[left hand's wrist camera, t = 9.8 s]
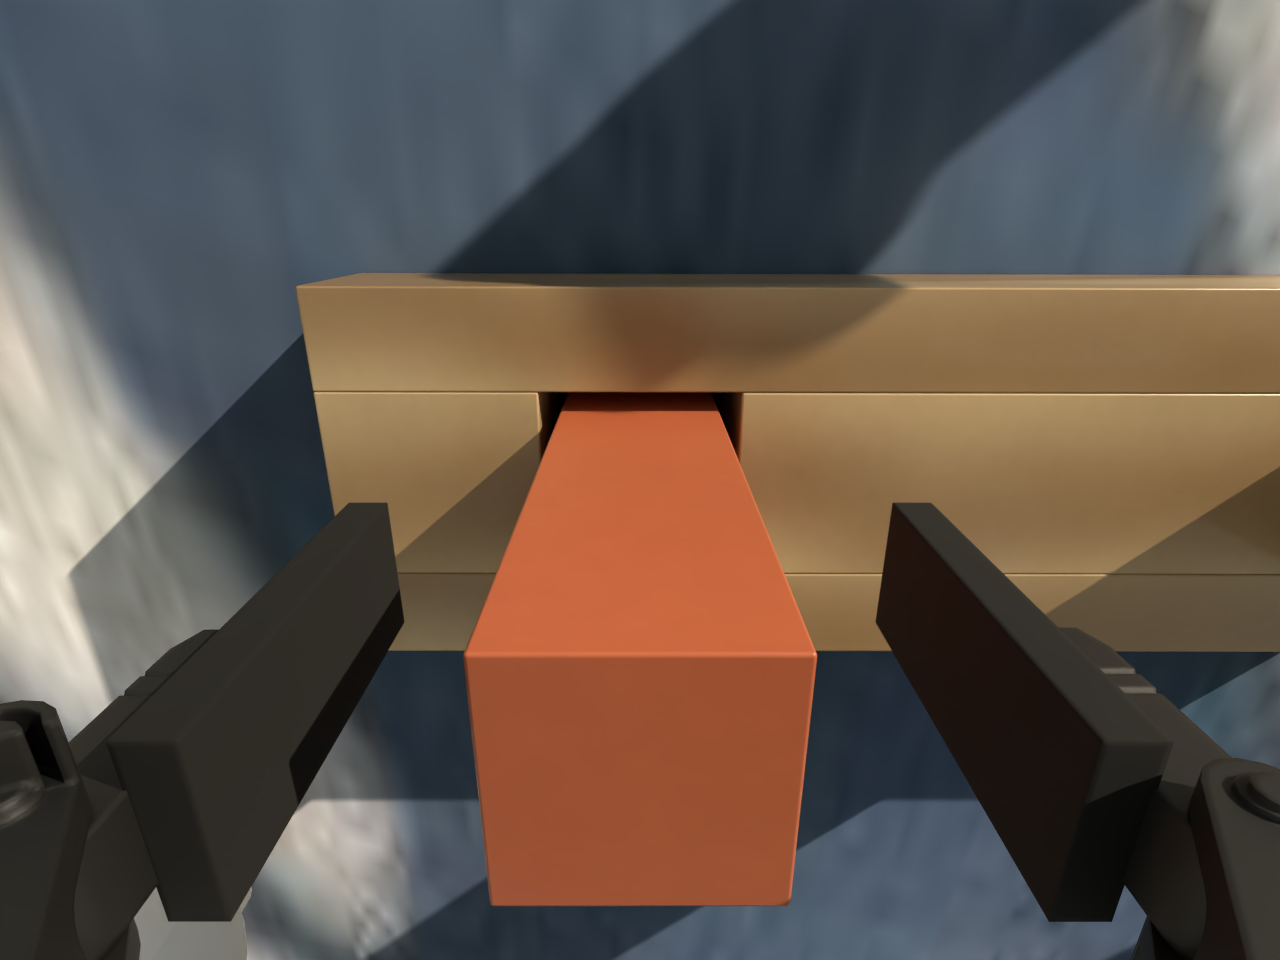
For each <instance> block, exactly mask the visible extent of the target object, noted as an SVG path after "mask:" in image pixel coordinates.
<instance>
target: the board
mask: <svg viewBox="0 0 1280 960" xmlns="http://www.w3.org/2000/svg"><path fill="white" fill-rule="evenodd" d="M296 293H297V299H298V305H299V311H300V317H301V323H302V328H303V334H304V340H305V346H306V352H307V358H308V364H309V369H310V375H311V381H312V387H313V391H315V392H314V398H315V404H316V410H317V416H318V422H319V428H320V433H321V439H322V445H323V451H324V457H325V463H326V469H327V474H328V480H329V486H330V492H331V498H332V504H333V510H334V515H335V516H336V515H337V514H338V513H339V512H340V511H341V510H342V509H343V508H344V507H345V506H346V505H347V504H348V503H388V510H389V517H390V524H391V531H392V538H393V545H394V552H395V559H396V566H397V573H398V580H399V587H400V594H401V601H402V608H403V615H404V624H403V626H402V628H401V629H400V631H399V633H398V634H397V636H396V638H395V640H394V641H393V643H392V645H391V647H390V648H389V650H388V651H465V649H466V646H467V644H468V642H469V639H470V637H471V634H472V632H473V629H474V627H475V624H476V622H477V619H478V617H479V614H480V612H481V609H482V607H483V604H484V602H485V599H486V597H487V594H488V592H489V589H490V587H491V584H492V582H493V579H494V577H495V574H496V572H497V569H498V567H499V564H500V562H501V559H502V557H503V554H504V552H505V549H506V547H507V544H508V542H509V539H510V537H511V534H512V532H513V529H514V527H515V524H516V522H517V519H518V517H519V515H520V512H521V510H522V507H523V505H524V502H525V500H526V497H527V495H528V492H529V490H530V487H531V485H532V482H533V480H534V477H535V475H536V472H537V470H538V467H539V465H540V462H541V460H542V457H543V455H544V452H545V450H546V447H547V445H548V442H549V440H550V437H551V435H552V432H553V430H554V427H555V425H556V422H557V420H558V397H557V392H722V413H721V418H722V421H723V423H724V426H725V428H726V431H727V433H728V436H729V438H730V441H731V443H732V446H733V448H734V450H735V453H736V455H737V458H738V460H739V463H740V465H741V468H742V470H743V473H744V475H745V478H746V480H747V483H748V485H749V488H750V490H751V492H752V495H753V497H754V500H755V502H756V505H757V507H758V510H759V512H760V515H761V517H762V520H763V522H764V525H765V527H766V530H767V532H768V534H769V537H770V539H771V542H772V544H773V547H774V549H775V552H776V554H777V557H778V559H779V562H780V564H781V567H782V569H783V572H784V574H785V576H786V579H787V581H788V584H789V586H790V589H791V591H792V594H793V596H794V599H795V601H796V604H797V606H798V609H799V611H800V614H801V616H802V618H803V621H804V623H805V626H806V628H807V631H808V633H809V636H810V638H811V641H812V643H813V646H814V648H815V651H892V650H891V648H890V647H889V645H888V643H887V641H886V640H885V638H884V636H883V634H882V633H881V631H880V629H879V628H878V626H877V624H876V615H877V608H878V601H879V594H880V587H881V580H882V573H883V566H884V559H885V552H886V545H887V538H888V531H889V524H890V517H891V510H892V503H932V504H933V505H934V506H935V507H936V508H937V509H938V510H939V511H940V512H941V513H942V514H943V515H944V516H945V517H946V518H947V519H948V520H949V521H950V522H951V523H952V524H954V525H955V526H956V527H957V528H958V529H959V530H960V531H961V532H962V533H963V534H964V535H965V536H966V537H967V538H968V539H969V540H970V541H971V542H972V543H973V544H974V545H975V546H976V547H977V548H978V549H979V550H980V551H981V552H982V553H983V554H984V555H985V556H986V557H987V558H988V559H989V560H990V561H991V562H992V563H993V564H994V565H995V566H996V567H997V568H998V569H999V570H1000V571H1001V572H1002V573H1003V574H1004V575H1005V576H1006V577H1007V578H1008V579H1009V580H1010V581H1012V582H1013V583H1014V584H1015V585H1016V586H1017V587H1018V588H1019V589H1020V590H1021V591H1022V592H1023V593H1024V594H1025V595H1026V596H1027V597H1028V598H1029V599H1030V600H1031V601H1032V602H1033V603H1034V604H1035V605H1036V606H1037V607H1038V608H1039V609H1040V610H1041V611H1042V612H1043V613H1044V614H1045V615H1046V616H1047V617H1048V618H1049V619H1050V620H1051V621H1052V622H1053V623H1054V624H1055V625H1056V626H1057V627H1058V628H1078V629H1080V630H1081V631H1083V632H1085V633H1087V634H1089V635H1090V636H1092V637H1094V638H1096V639H1097V640H1099V641H1101V642H1103V643H1105V644H1106V645H1108V646H1110V647H1111V648H1112V649H1113V650H1115V651H1116V652H1280V275H961V274H529V273H359V274H354V275H349V276H344V277H339V278H334V279H329V280H325V281H320V282H315V283H310V284H305V285H300V286H296Z"/></svg>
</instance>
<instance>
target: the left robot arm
mask: <svg viewBox="0 0 1280 960" xmlns="http://www.w3.org/2000/svg"><path fill="white" fill-rule="evenodd" d="M403 624H404V615H403V608H402V601H401V594H400V587H399V580H398V573H397V566H396V559H395V552H394V545H393V538H392V531H391V524H390V517H389V510H388V503H348V504H347V505H346V506H345V507H344V508H343V509H342V510H341V511H340V512H339V513H338V514H337V515H336V516H335V517H334V518H333V519H332V520H331V521H330V522H329V523H327V524H326V525H325V526H324V527H323V528H322V529H321V530H320V531H319V532H318V533H317V534H316V535H315V536H314V537H313V538H312V539H311V540H310V541H309V542H308V543H307V544H306V545H305V546H304V547H303V548H302V549H301V550H300V551H299V552H298V553H297V554H296V555H295V556H294V557H293V558H292V559H291V560H290V561H289V562H288V563H287V564H286V565H285V566H284V567H283V568H282V569H281V570H280V571H279V572H278V573H277V574H276V575H275V576H274V577H273V578H272V579H271V580H269V581H268V582H267V583H266V584H265V585H264V586H263V587H262V588H261V589H260V590H259V591H258V592H257V593H256V594H255V595H254V596H253V597H252V598H251V599H250V600H249V601H248V602H247V603H246V604H245V605H244V606H243V607H242V608H241V609H240V610H239V611H238V612H237V613H236V614H235V615H234V616H233V617H232V618H231V619H230V620H229V621H228V622H227V623H226V624H225V625H224V626H223V627H222V628H221V629H220V630H203V631H201V632H200V633H198V634H196V635H194V636H193V637H191V638H189V639H187V640H185V641H184V642H182V643H180V644H178V645H177V646H175V647H173V648H171V649H170V650H169V651H168V652H167V653H165V654H164V655H163V656H162V657H161V658H160V659H159V660H158V661H157V662H156V663H155V664H153V665H152V666H151V667H150V668H149V669H148V670H147V671H146V672H145V673H146V674H145V676H140V677H139V678H138V679H137V680H136V681H135V682H134V683H133V684H132V685H131V686H130V687H129V688H127V689H126V690H125V694H124V696H119V697H118V698H117V699H115V700H114V701H113V702H112V703H111V704H110V705H109V706H108V707H107V708H106V709H105V710H104V711H102V712H101V713H100V714H99V715H98V716H97V717H96V718H95V719H94V720H93V721H92V722H91V723H89V724H88V725H87V726H86V727H85V728H84V729H83V730H82V731H81V732H80V733H79V734H77V735H76V736H75V737H74V738H73V739H72V740H71V741H70V742H69V743H68V740H67V738H66V735H65V732H64V730H63V727H62V724H61V722H60V719H59V716H58V714H57V711H56V708H54V707H52V706H50V705H49V704H47V703H45V702H43V701H24V700H21V701H15V702H9V703H3V704H0V960H139V956H140V947H141V943H140V937H139V932H138V928H137V925H136V923H135V920H134V917H135V916H136V914H137V913H138V911H139V910H140V909H141V907H142V906H143V905H144V903H145V902H146V900H147V899H148V898H149V896H150V895H151V893H152V892H153V891H154V889H155V888H157V891H158V894H159V896H160V899H161V902H162V905H163V908H164V911H165V914H166V917H167V919H168V922H231V921H232V919H233V917H234V915H235V914H236V912H237V910H238V909H239V907H240V905H241V903H242V902H243V900H244V898H245V897H246V895H247V893H248V891H249V890H250V888H251V886H252V884H253V883H254V881H255V879H256V878H257V876H258V874H259V872H260V871H261V869H262V867H263V865H264V864H265V862H266V860H267V859H268V857H269V855H270V853H271V852H272V850H273V848H274V847H275V845H276V843H277V841H278V840H279V838H280V836H281V834H282V833H283V831H284V829H285V828H286V826H287V824H288V822H289V821H290V819H291V817H292V815H293V814H294V812H295V810H296V809H297V807H298V805H299V803H300V802H301V800H302V798H303V797H304V795H305V793H306V791H307V790H308V788H309V786H310V784H311V783H312V781H313V779H314V778H315V776H316V774H317V772H318V771H319V769H320V767H321V765H322V764H323V762H324V760H325V759H326V757H327V755H328V753H329V752H330V750H331V748H332V747H333V745H334V743H335V741H336V740H337V738H338V736H339V734H340V733H341V731H342V729H343V728H344V726H345V724H346V722H347V721H348V719H349V717H350V715H351V714H352V712H353V710H354V709H355V707H356V705H357V703H358V702H359V700H360V698H361V697H362V695H363V693H364V691H365V690H366V688H367V686H368V684H369V683H370V681H371V679H372V678H373V676H374V674H375V672H376V671H377V669H378V667H379V665H380V664H381V662H382V660H383V659H384V657H385V655H386V653H387V652H388V650H389V648H390V647H391V645H392V643H393V641H394V640H395V638H396V636H397V634H398V633H399V631H400V629H401V628H402V626H403ZM876 624H877V626H878V628H879V629H880V631H881V633H882V634H883V636H884V638H885V640H886V641H887V643H888V645H889V647H890V648H891V650H892V652H893V653H894V655H895V657H896V659H897V660H898V662H899V664H900V666H901V667H902V669H903V671H904V672H905V674H906V676H907V678H908V679H909V681H910V683H911V684H912V686H913V688H914V690H915V691H916V693H917V695H918V697H919V698H920V700H921V702H922V703H923V705H924V707H925V709H926V710H927V712H928V714H929V716H930V717H931V719H932V721H933V722H934V724H935V726H936V728H937V729H938V731H939V733H940V734H941V736H942V738H943V740H944V741H945V743H946V745H947V747H948V748H949V750H950V752H951V753H952V755H953V757H954V759H955V760H956V762H957V764H958V766H959V767H960V769H961V771H962V772H963V774H964V776H965V778H966V779H967V781H968V783H969V784H970V786H971V788H972V790H973V791H974V793H975V795H976V797H977V798H978V800H979V802H980V803H981V805H982V807H983V809H984V810H985V812H986V814H987V816H988V817H989V819H990V821H991V822H992V824H993V826H994V828H995V829H996V831H997V833H998V834H999V836H1000V838H1001V840H1002V841H1003V843H1004V845H1005V847H1006V848H1007V850H1008V852H1009V853H1010V855H1011V857H1012V859H1013V860H1014V862H1015V864H1016V866H1017V867H1018V869H1019V871H1020V872H1021V874H1022V876H1023V878H1024V879H1025V881H1026V883H1027V884H1028V886H1029V888H1030V890H1031V891H1032V893H1033V895H1034V897H1035V898H1036V900H1037V902H1038V903H1039V905H1040V907H1041V909H1042V910H1043V912H1044V914H1045V916H1046V917H1047V919H1048V921H1049V922H1112V919H1113V916H1114V914H1115V911H1116V908H1117V905H1118V902H1119V899H1120V896H1121V894H1122V891H1123V888H1124V885H1125V886H1126V887H1127V888H1128V890H1129V891H1130V893H1131V894H1132V895H1133V897H1134V898H1135V899H1136V901H1137V902H1138V904H1139V905H1140V906H1141V908H1142V909H1143V910H1144V912H1145V913H1146V915H1147V917H1146V920H1145V923H1144V925H1143V928H1142V931H1141V933H1140V936H1139V939H1138V941H1137V944H1136V947H1135V950H1134V952H1133V955H1132V958H1131V960H1280V769H1277V768H1275V767H1272V766H1269V765H1267V764H1264V763H1260V762H1255V761H1249V760H1244V759H1239V758H1232V757H1230V756H1229V755H1228V754H1227V753H1226V752H1225V751H1224V750H1223V749H1222V748H1221V747H1219V746H1218V745H1217V744H1216V743H1215V742H1214V741H1213V740H1212V739H1211V738H1210V737H1209V736H1207V735H1206V734H1205V733H1204V732H1203V731H1202V730H1201V729H1200V728H1199V727H1198V726H1197V725H1195V724H1194V723H1193V722H1192V721H1191V720H1190V719H1189V718H1188V717H1187V716H1186V715H1185V714H1183V713H1182V712H1181V711H1180V710H1179V709H1178V708H1177V707H1176V706H1175V705H1174V704H1172V703H1171V702H1170V701H1169V700H1168V699H1167V698H1166V697H1165V696H1164V695H1163V694H1162V693H1157V692H1156V688H1155V687H1154V686H1153V685H1152V684H1151V683H1150V682H1148V681H1147V680H1146V679H1145V678H1144V677H1143V676H1142V675H1141V674H1136V672H1135V669H1134V668H1133V667H1132V666H1131V665H1130V664H1129V663H1128V662H1127V661H1125V660H1124V659H1123V658H1122V657H1121V656H1120V655H1119V654H1118V653H1117V652H1116V651H1115V650H1113V649H1112V648H1111V647H1110V646H1108V645H1106V644H1105V643H1103V642H1101V641H1099V640H1097V639H1096V638H1094V637H1092V636H1090V635H1089V634H1087V633H1085V632H1083V631H1081V630H1080V629H1078V628H1058V627H1057V626H1056V625H1055V624H1054V623H1053V622H1052V621H1051V620H1050V619H1049V618H1048V617H1047V616H1046V615H1045V614H1044V613H1043V612H1042V611H1041V610H1040V609H1039V608H1038V607H1037V606H1036V605H1035V604H1034V603H1033V602H1032V601H1031V600H1030V599H1029V598H1028V597H1027V596H1026V595H1025V594H1024V593H1023V592H1022V591H1021V590H1020V589H1019V588H1018V587H1017V586H1016V585H1015V584H1014V583H1013V582H1012V581H1010V580H1009V579H1008V578H1007V577H1006V576H1005V575H1004V574H1003V573H1002V572H1001V571H1000V570H999V569H998V568H997V567H996V566H995V565H994V564H993V563H992V562H991V561H990V560H989V559H988V558H987V557H986V556H985V555H984V554H983V553H982V552H981V551H980V550H979V549H978V548H977V547H976V546H975V545H974V544H973V543H972V542H971V541H970V540H969V539H968V538H967V537H966V536H965V535H964V534H963V533H962V532H961V531H960V530H959V529H958V528H957V527H956V526H955V525H954V524H952V523H951V522H950V521H949V520H948V519H947V518H946V517H945V516H944V515H943V514H942V513H941V512H940V511H939V510H938V509H937V508H936V507H935V506H934V505H933V504H932V503H892V510H891V517H890V524H889V531H888V538H887V545H886V552H885V559H884V566H883V573H882V580H881V587H880V594H879V601H878V608H877V615H876Z"/></svg>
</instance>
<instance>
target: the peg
mask: <svg viewBox="0 0 1280 960" xmlns="http://www.w3.org/2000/svg"><path fill="white" fill-rule="evenodd" d="M463 661H464V670H465V679H466V688H467V697H468V706H469V715H470V724H471V734H472V743H473V752H474V761H475V770H476V779H477V788H478V797H479V807H480V816H481V825H482V834H483V843H484V852H485V861H486V870H487V879H488V889H489V898H490V904H491V905H492V906H787V905H789V904H790V900H791V891H792V882H793V873H794V864H795V854H796V845H797V836H798V827H799V818H800V809H801V800H802V791H803V782H804V772H805V763H806V754H807V745H808V736H809V727H810V718H811V709H812V700H813V691H814V681H815V672H816V663H817V653H816V651H815V648H814V646H813V643H812V641H811V638H810V636H809V633H808V631H807V628H806V626H805V623H804V621H803V618H802V616H801V614H800V611H799V609H798V606H797V604H796V601H795V599H794V596H793V594H792V591H791V589H790V586H789V584H788V581H787V579H786V576H785V574H784V572H783V569H782V567H781V564H780V562H779V559H778V557H777V554H776V552H775V549H774V547H773V544H772V542H771V539H770V537H769V534H768V532H767V530H766V527H765V525H764V522H763V520H762V517H761V515H760V512H759V510H758V507H757V505H756V502H755V500H754V497H753V495H752V492H751V490H750V488H749V485H748V483H747V480H746V478H745V475H744V473H743V470H742V468H741V465H740V463H739V460H738V458H737V455H736V453H735V450H734V448H733V446H732V443H731V441H730V438H729V436H728V433H727V431H726V428H725V426H724V423H723V421H722V418H721V416H720V413H719V411H718V409H717V406H716V404H715V401H714V399H713V396H712V394H711V392H568V395H567V397H566V400H565V402H564V405H563V407H562V410H561V412H560V415H559V417H558V420H557V422H556V425H555V427H554V430H553V432H552V435H551V437H550V440H549V442H548V445H547V447H546V450H545V452H544V455H543V457H542V460H541V462H540V465H539V467H538V470H537V472H536V475H535V477H534V480H533V482H532V485H531V487H530V490H529V492H528V495H527V497H526V500H525V502H524V505H523V507H522V510H521V512H520V515H519V517H518V519H517V522H516V524H515V527H514V529H513V532H512V534H511V537H510V539H509V542H508V544H507V547H506V549H505V552H504V554H503V557H502V559H501V562H500V564H499V567H498V569H497V572H496V574H495V577H494V579H493V582H492V584H491V587H490V589H489V592H488V594H487V597H486V599H485V602H484V604H483V607H482V609H481V612H480V614H479V617H478V619H477V622H476V624H475V627H474V629H473V632H472V634H471V637H470V639H469V642H468V644H467V646H466V649H465V651H464V654H463Z"/></svg>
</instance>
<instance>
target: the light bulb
mask: <svg viewBox="0 0 1280 960" xmlns="http://www.w3.org/2000/svg"><path fill="white" fill-rule="evenodd" d="M251 892H252V886H251V888H250V890H249V891H248V893H247V895H246V897H245V898H244V900H243V902H242V903H241V905H240V907H239V909H238V910H237V912H236V914H235V915H234V917H233V919H232V921H231V922H168V919H167V917H166V914H165V911H164V908H163V905H162V902H161V899H160V896H159V894H158V891H157V888H155V889H154V891H153V892H152V893H151V895H150V896H149V898H148V899H147V900H146V902H145V903H144V905H143V906H142V907H141V909H140V910H139V911H138V913H137V914H136V916H135V917H134V920H135V923H136V925H137V928H138V932H139V937H140V943H141V947H140V956H139V960H247V940H246V931H245V922H244V919H243V916H242V911H243V909H244V907H245V906H246V904H247V902H248V900H249V899H250V896H251Z"/></svg>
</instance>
